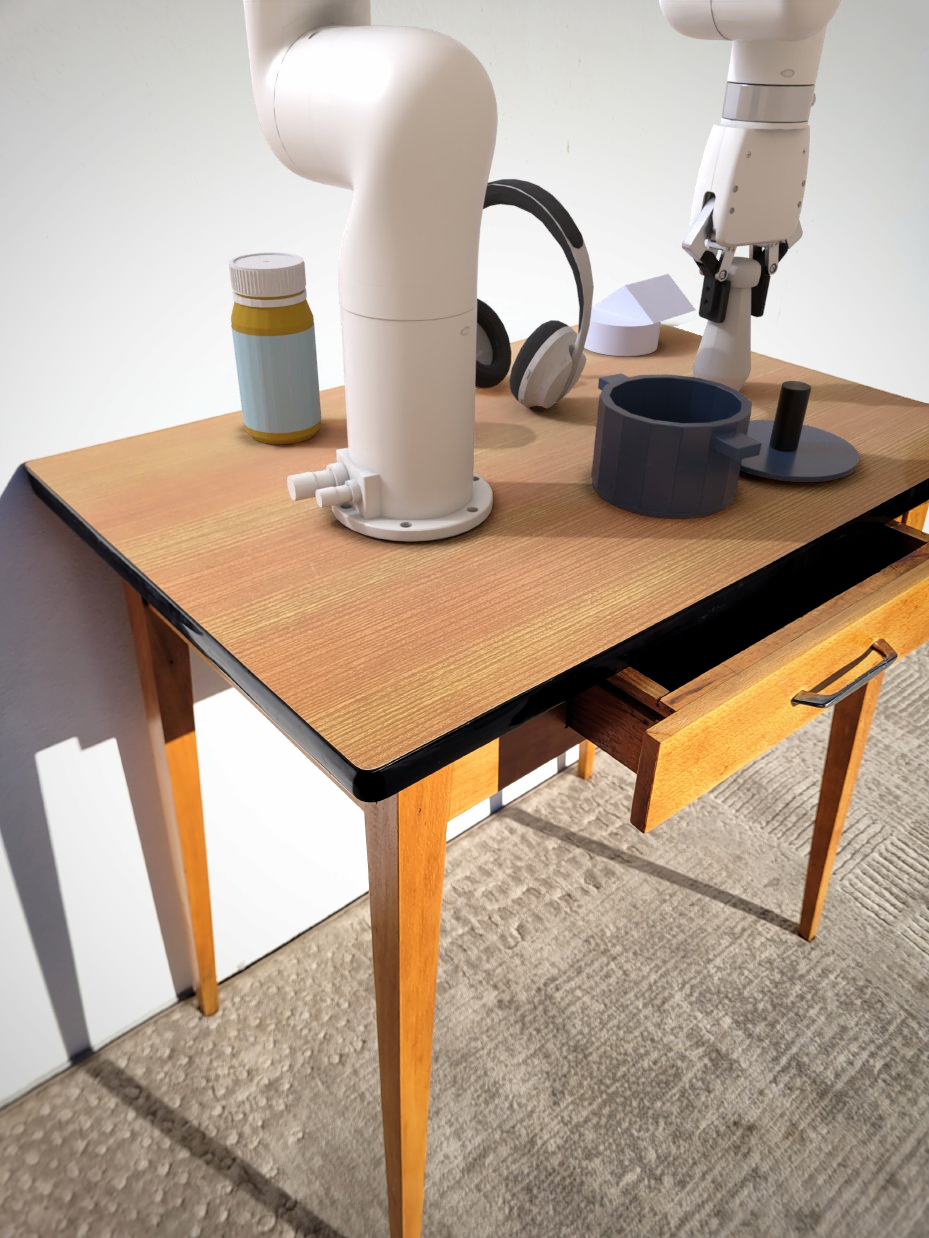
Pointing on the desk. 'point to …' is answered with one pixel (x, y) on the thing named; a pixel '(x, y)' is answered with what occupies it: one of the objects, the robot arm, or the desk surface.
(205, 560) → the desk surface
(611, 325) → the wedge on round base
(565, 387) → the headphones
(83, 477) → the desk surface
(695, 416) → the pot
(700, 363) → the salt shaker
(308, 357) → the bottle
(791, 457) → the lid
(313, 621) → the desk surface
